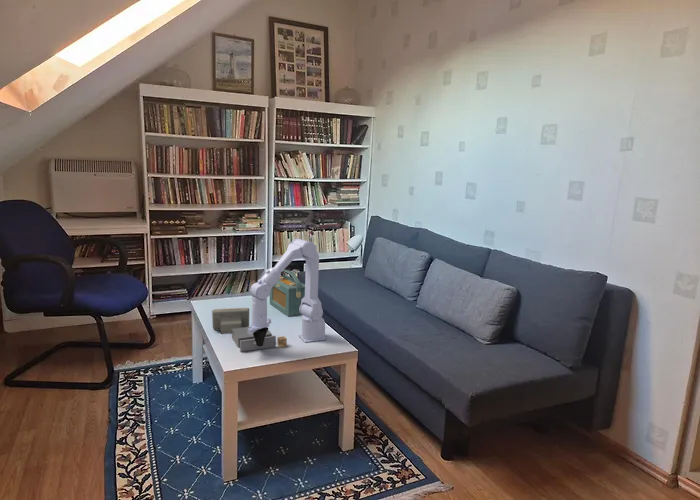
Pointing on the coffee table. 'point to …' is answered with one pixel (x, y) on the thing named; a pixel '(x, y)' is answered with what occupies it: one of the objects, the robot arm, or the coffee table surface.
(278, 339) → the tan wooden block
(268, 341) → the grey drawer
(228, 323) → the digital clock
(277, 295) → the radio
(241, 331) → the player housing
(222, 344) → the coffee table surface
